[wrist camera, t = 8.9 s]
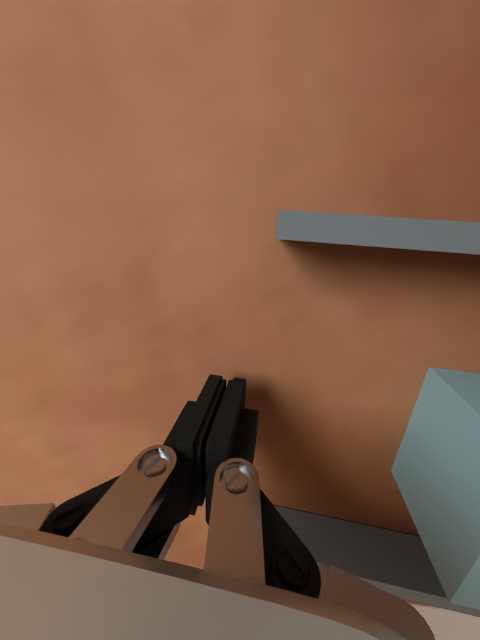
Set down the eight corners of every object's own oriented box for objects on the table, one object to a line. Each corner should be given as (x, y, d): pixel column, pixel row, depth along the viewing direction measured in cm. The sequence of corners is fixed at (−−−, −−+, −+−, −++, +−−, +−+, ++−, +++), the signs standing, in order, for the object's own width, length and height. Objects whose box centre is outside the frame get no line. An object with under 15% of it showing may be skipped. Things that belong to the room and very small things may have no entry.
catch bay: (279, 214, 10) (278, 210, 7) (727, 243, 8) (916, 248, 5) (246, 508, 15) (240, 558, 13) (499, 563, 14) (544, 632, 11)
